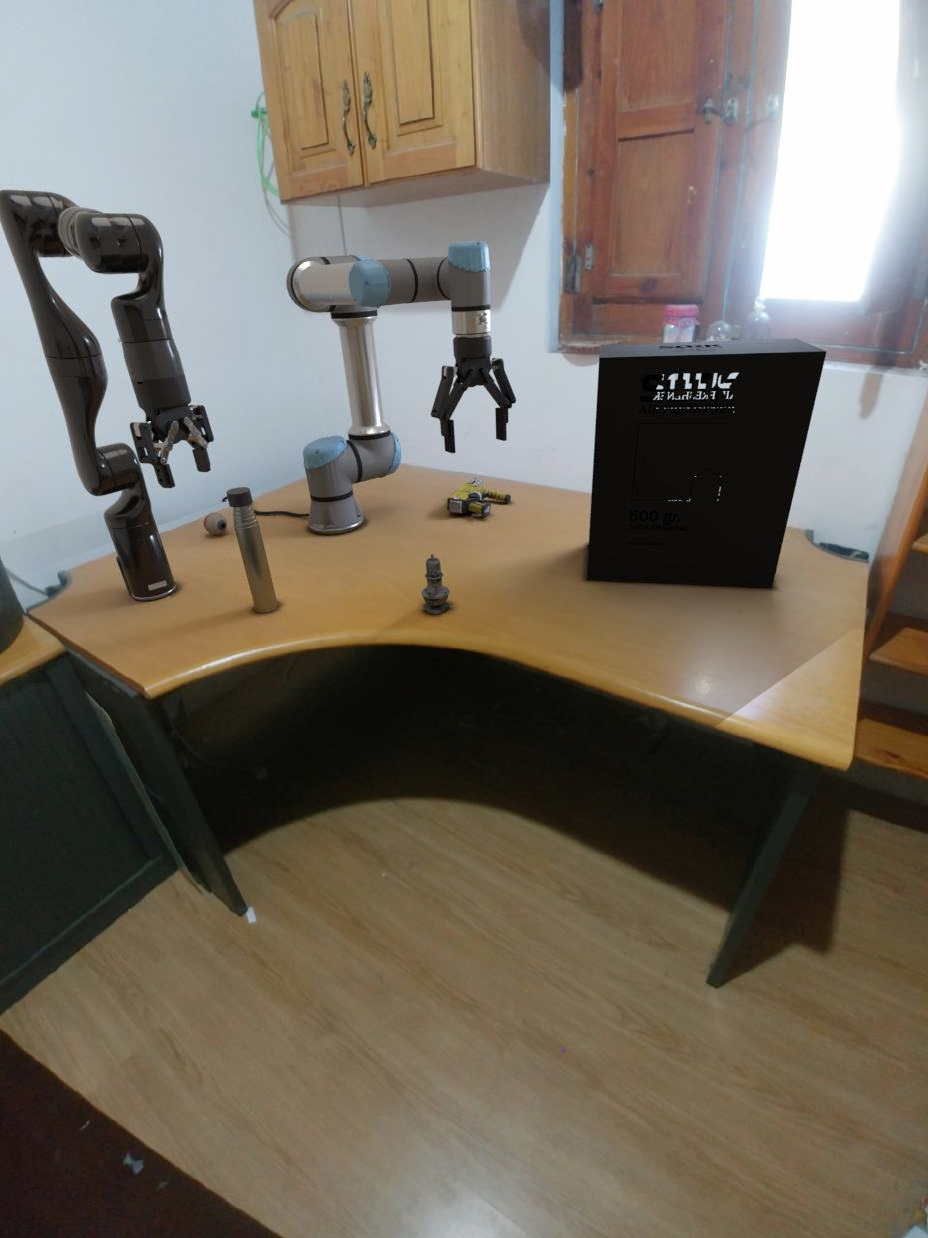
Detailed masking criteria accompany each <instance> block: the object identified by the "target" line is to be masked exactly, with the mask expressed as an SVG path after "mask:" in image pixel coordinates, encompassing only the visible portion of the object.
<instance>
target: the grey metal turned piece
mask: <svg viewBox="0 0 928 1238" xmlns="http://www.w3.org/2000/svg"><path fill="white" fill-rule="evenodd" d="M425 570H426V573H425V575H424V578H426V587H424V588H423V589H422V590H421V591H420V595H421V596H422V598H423V600H424V602H425V604H424V606H423V610H424V611H425V612H426V613H429V614H442V613H445V612H447V611H448V610H449V609H450V604H449V603H448V599H449V595H450V593H451V590H450V589H449V588H448V586H445V585H443V576H444V573H443V572H442V568H441V560H440V559H439V558H438V557H435V555H434V554H433V553H432V554H431V555H430V557H429V558H427V559H426V561H425Z"/></svg>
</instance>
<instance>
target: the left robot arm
mask: <svg viewBox="0 0 928 1238" xmlns="http://www.w3.org/2000/svg"><path fill="white" fill-rule="evenodd" d="M0 225H1V229H2V231H3V234H4V237H5V240H6V243H7V245H8V248H9V251H10V253H11V256H12V258H13V261H14V265H15V266H16V270H17V272H18V274H19V277H20V280H21V282H22V285H23V288H24V291H25V293H26V297H27V299H28V303H29V306H30V309H31V313H32V316H33V319H34V323H35V326H36V330H37V334H38V337H39V341H40V345H41V348H42V349H41V350H42V352H43V355H44V359H45V362H46V365H47V368H48V372H49V375H50V377H51V380H52V383H53V386H54V389H55V392H56V395H57V398H58V401H59V404H60V407H61V411H62V414H63V417H64V421H65V425H66V430H67V434H68V438H69V443H70V448H71V453H72V458H73V461H74V466H75V469H76V472H77V475H78V477H79V480H80V483H81V484H82V486H83V488H84V489H85V490H86V492H88V493H89V494H90V495H92V496H93V497H104V496H109V495H112V494H114V493H119V492H121V494H120V495H119V497H118V499H117V500H116V501H115V502H114V503H112V504H111V505H110V506H108V507H107V508H106V509H105V511H104V512H103V519H104V522H105V525H106V528H107V531H108V533H109V535H110V538H111V541H112V544H113V546H114V549H115V552H116V555H117V556H116V557H115V560H116V563H117V566H118V568H119V571H120V573H121V576H122V579H123V581H124V584H125V587H126V590H127V592H128V595H129V596H130V597H132V599H133V600H135V601H138V602H150V601H155V600H160V599H163V598H165V597H167V596H169V595H171V594H173V593H174V592H175V591H176V590H177V588H178V586H177V582H176V580H175V578H174V575H173V572H172V569H171V565H170V563H169V559H168V557H167V553H166V551H165V550H166V549H165V546H164V544H163V541H162V539H161V538H162V537H161V536H160V532H159V529H158V526H157V523H156V520H155V517H154V514H153V510H152V502H151V498H150V495H149V492H148V488H147V484H146V480H145V476H144V472H143V468H142V465H141V464H148V465H151V466H152V467H153V470H154V473H155V476H156V481H157V483H158V484H159V486H160V487H161V488H163V489H173V488H175V487H176V483H175V480H174V476H173V472H172V469H171V465H170V463H168V461H169V456H170V452H172V451H173V449H174V445H176V444H178V443H180V442H181V441H185V442H186V443H187V444H188V445H189V446H190V447H191V448H192V449H191V452H192V456H193V459H194V462H195V467H196V470H197V471H198V472H199V473H208V472H210V471H211V470H212V468H211V461H210V457H209V453H208V447H209V443H213V442H214V440H215V436H214V434H213V430H212V426H211V423H210V420H209V416H208V414H207V410H206V407H205V406H204V405H203V404H191V403H192V397H191V393H190V390H189V389H190V388H189V385H188V381H187V378H186V374H185V370H184V365H183V363H182V359H181V355H180V352H179V350H178V347H177V344H176V343H175V340H174V336H173V332H172V329H171V324H170V321H169V318H168V313H167V309H166V302H165V301H166V300H165V285H164V283H165V282H164V281H165V280H164V279H165V277H164V273H165V272H164V271H165V269H164V267H165V265H164V264H165V261H164V260H165V259H164V258H165V256H164V254H165V253H164V244H163V240H162V237H161V234H160V233H159V231H158V229H157V227H156V226H155V224H154V223H153V222H152V221H151V220H150V219H149V218H148V217H147V216H145V215H143V214H140V213H132V212H130V213H129V212H128V213H127V212H126V213H125V212H123V213H122V212H102V211H100V210H97V209H93V208H89V207H84V206H83V207H82V206H80V205H78V204H76V202H74V201H73V200H71V199H70V198H68V197H67V196H65V195H62V194H60V193H57V192H56V193H55V192H53V191H46V190H45V191H44V190H42V191H41V190H25V189H22V190H21V189H0ZM41 258H43V259H44V258H61V259H63V258H76V259H78V260H80V261H83V263H84V264H85V266H86V267H87V268H88V269H89V270H90V271H92V273H95V274H99V275H108V276H109V275H111V276H112V275H131V274H133V275H134V274H137V277H138V278H137V284H136V286H135V288H134V289H133V290H131V291H129V292H125V293H122V294H118V295H116V296H113V298H111V300H110V309H111V313H112V317H113V321H114V323H115V324H114V325H115V326H116V330H117V333H118V337H119V339H120V342H121V348H122V352H123V353H122V354H123V358H124V363H125V366H126V369H127V372H128V375H129V379H130V382H131V385H132V389H133V392H134V395H135V398H136V402H137V405H138V407H139V408H140V409H141V410H142V411H143V412H144V414H145V421H133V422H130V423H129V429H130V434H131V437H132V440H133V445H134V449H135V450H133V448H132V447H131V446H130V445H128V444H127V443H125V442H114V443H109V444H105V445H101V446H97V442H96V423H97V420H98V416H99V412H100V410H101V407H102V405H103V402H104V399H105V396H106V393H107V389H108V384H109V375H108V369H107V366H106V362H105V358H104V354H103V349H102V347H101V344H100V341H99V339H98V338H97V336H96V335H95V333H94V332H93V331H92V330H91V328H90V327H89V326H88V325H87V323H85V321H83V319H82V318H81V317H79V316H78V314H76V313H75V311H74V310H73V309H72V308H71V307H69V305H68V304H67V303H66V302H65V301H64V299H63V298H62V297H61V296H60V295H59V293H58V292H57V290H55V288H54V287H53V285H52V284H51V282H50V281H49V279H48V277H47V275H46V273H45V271H44V269H43V267H42V264H41V262H40V259H41ZM203 430H204V432H203ZM135 451H136V452H135Z"/></svg>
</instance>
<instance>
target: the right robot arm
mask: <svg viewBox="0 0 928 1238" xmlns="http://www.w3.org/2000/svg"><path fill="white" fill-rule="evenodd" d="M490 263H491V262H490V252H489V245H488V244H487V242H485V241H484V240H466V241H455V242H451V243H450V244H449V245H448V247H447V256H431V257H430V256H427V257H413V258H411V257H410V258H391V259H390V258H386V259H374V258H370V257H369V256H367V255H358V254H349V255H328V256H326V255H325V256H310V257H305V258H302V259H300V260H298V261H296V262H295V263H293V265H291V267H290V268H289V269H288V272H287V275H286V281H285V282H286V283H285V284H286V285H285V286H286V290H287V293H288V296H289V297H290V299H291V300H292V303H294V304H295V305H296V306H298V307H299V308H300V309H302V310H304V311H306V312H310V313H318V314H319V313H320V314H321V313H330V320H331V321H332V322H333V323H334V324H335V325H336V326H337V327H338V332H339V333H338V334H339V339H340V347H341V355H342V361H343V369H344V375H345V382H346V383H345V384H346V389H347V396H348V404H349V410H350V418H351V425H350V426H349V428H348V430H347V436H348V439H345V437H343V436H341V435H332V436H324V437H321V438H318V439H315V440H312V441H311V442H309V443H308V444H306V445H305V446H304V448H303V450H302V457H303V459H302V460H303V467H304V471H305V476H306V481H307V486H308V492H309V498H310V507H309V512H307V513H296V512H292V511H287V510H286V511H285V510H271V511H259V510H257V509H253V510H254V513H255V515H287V516H293V517H299V518H300V517H302V518H305V517H308V523H307V524H308V528H309V529H308V530H310V531H311V532H312V533H314V534H317V535H323V536H324V535H325V536H327V535H329V536H331V535H339V534H340V535H341V534H345V533H350V532H353V531H355V530H357V529H359V528H361V527H362V526H363V525H364V523H365V519H364V514H363V512H362V510H361V508H360V505H359V504H358V501H357V500H356V498H355V495H354V489H353V485H354V484H355V485H356V484H359V483H363V482H368V481H371V480H375V479H381V478H385V477H387V476H390V475H392V474H394V473H396V472H397V470H398V469H399V467H400V465H401V462H402V446H401V443H400V441H399V437H398V436H397V435H396V434H395V432H394V431H391V426H390V425H388V423H386V422H385V420H384V419H385V418H384V410H383V402H382V393H381V385H380V377H379V368H378V367H379V366H378V358H377V349H376V341H375V331H374V324H375V322H376V320H377V319H378V317H379V314H378V309H379V308H381V307H385V306H394V305H403V304H405V305H406V304H417V303H419V304H420V303H427V302H428V303H429V302H444V301H448V302H449V301H450V311H451V313H450V314H451V315H450V316H451V334H453V335H454V337H453V339H452V350H453V358H454V359H455V363H454V366H452V365H442V366H441V373H440V374H441V375H440V376H441V377H440V381H439V384H438V388H437V390H436V395H435V398H434V401H433V404H432V407H431V411H430V416H431V418H435V419H438V421H439V426H440V435H441V437H443V441H444V442H443V443H444V452H446V453H450V454H456V433H455V420H454V419H451V418H452V416H453V414H454V413H455V410H456V409H457V406H458V404H459V402H460V401H461V399H462V397H463V396H464V393H465V392H466V391H468V389H469V388H474V387H477V386H478V387H482V386H483V387H484V389H485V390H486V391H487V392H488V394H489V396H491V398H492V399H493V401H494V402H495V403H496V405H497V406H498V407H495V408H494V410H495V411H494V413H495V414H494V415H495V439H496V440H499V441H502V442H507V441H508V438H507V435H508V433H507V424H509V410H510V409H512V407H513V404H516V403H517V398H516V394H515V393H514V390H513V388H512V385H511V383H510V380H509V378H508V375H507V373H506V370H505V363H504V362H505V361H504V359H503V358H499V357H493V358H491V356H492V354H493V346H492V344H493V343H492V340H493V339H492V336H491V335H489V333H491V332H492V315H491V314H492V312H491V311H492V309H491V264H490ZM491 370H492V374H493V376H494V378H493V376H492V375H491ZM455 377H456V378H455ZM454 378H455V380H454ZM495 381H496V383H497V384H496V383H495ZM226 500H228V498H227V496H225V497H223V498H222V500H221V502H222V503H223V502H225V501H226Z"/></svg>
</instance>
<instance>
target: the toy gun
mask: <svg viewBox="0 0 928 1238" xmlns="http://www.w3.org/2000/svg"><path fill="white" fill-rule="evenodd" d="M485 499H492V500H496V501H499V502H502V503H506V504H508V503H510V502H511V500H512V496H511V494H508V493H502V492H497V491H495V490H494V491H493V490H488V491H487V492H486V491H485V489H484V479H483V478H479V479H478V477H474V478H473V479H471V480H470V481H468V482H467V483H465V484H464V485H463V486H462V487H460V488H459V489H457V490H456V491H455V492H454V493H453V494H451V495H450V496H449V497H448V498H447V499H446V510H447V512H450V513H451V515H453V514H454V515H458V514H460V515H461V514H462V515H464V514H468V513H476V514H479V515H481V517H482V518H485V517H486V516H488V515H490V514H491V508H492V507H491V505H492V503H491V502H490V501H486V502H484V500H485Z"/></svg>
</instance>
